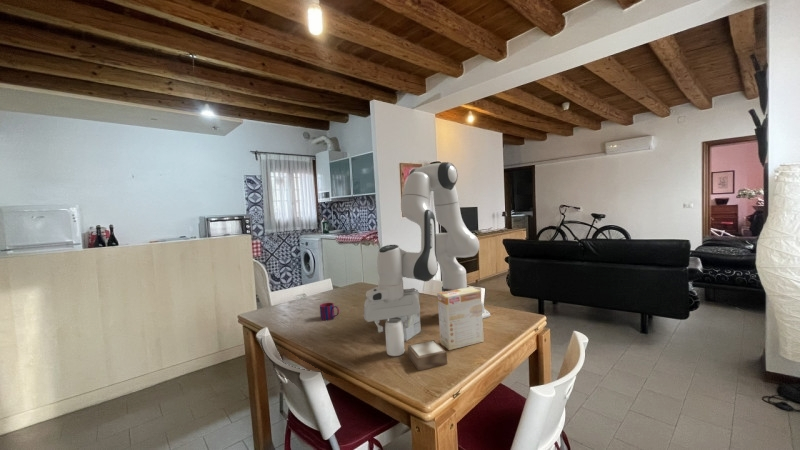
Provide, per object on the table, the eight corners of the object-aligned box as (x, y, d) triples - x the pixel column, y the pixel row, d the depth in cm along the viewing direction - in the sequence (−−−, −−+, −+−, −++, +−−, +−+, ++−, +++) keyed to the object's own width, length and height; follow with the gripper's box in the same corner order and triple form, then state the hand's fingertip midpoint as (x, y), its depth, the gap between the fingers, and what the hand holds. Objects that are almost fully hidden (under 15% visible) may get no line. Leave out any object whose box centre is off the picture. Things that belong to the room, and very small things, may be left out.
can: (402, 357, 107) (400, 323, 106) (384, 356, 108) (382, 323, 107) (406, 348, 113) (404, 316, 112) (389, 348, 114) (387, 316, 114)
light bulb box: (408, 328, 132) (406, 304, 131) (421, 331, 128) (419, 306, 127) (393, 338, 123) (391, 311, 123) (407, 341, 119) (405, 314, 119)
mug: (327, 315, 157) (326, 302, 156) (342, 317, 152) (341, 303, 152) (317, 319, 151) (316, 306, 151) (333, 322, 146) (332, 308, 146)
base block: (434, 351, 110) (433, 339, 109) (447, 363, 100) (446, 351, 100) (408, 356, 107) (407, 344, 106) (418, 370, 97) (417, 357, 97)
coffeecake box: (473, 335, 121) (470, 286, 120) (484, 342, 114) (481, 290, 113) (439, 343, 116) (436, 292, 115) (449, 350, 109) (445, 296, 108)
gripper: (415, 285, 115) (417, 322, 116) (361, 292, 109) (363, 331, 110) (421, 289, 109) (423, 327, 110) (365, 297, 103) (367, 337, 104)
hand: (393, 329), depth 110 cm, fingers open, 8 cm apart
